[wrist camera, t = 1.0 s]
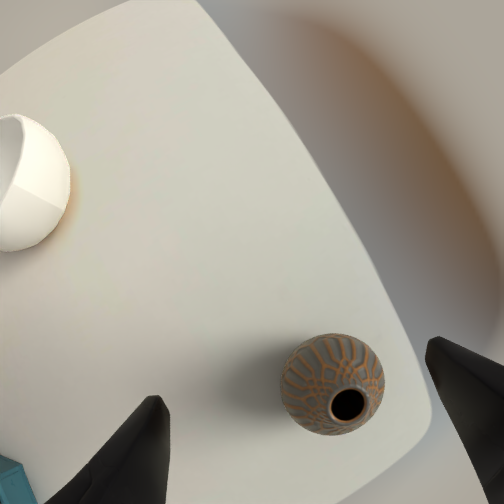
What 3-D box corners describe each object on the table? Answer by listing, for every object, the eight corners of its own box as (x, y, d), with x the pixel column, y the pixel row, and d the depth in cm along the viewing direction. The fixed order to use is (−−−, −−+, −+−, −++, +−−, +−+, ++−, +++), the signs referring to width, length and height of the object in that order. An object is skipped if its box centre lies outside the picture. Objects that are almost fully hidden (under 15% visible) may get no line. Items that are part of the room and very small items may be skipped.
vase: (278, 333, 23) (278, 346, 15) (365, 326, 23) (409, 333, 14) (281, 417, 22) (282, 467, 14) (366, 408, 22) (405, 450, 13)
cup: (40, 144, 29) (-9, 105, 20) (110, 162, 28) (55, 111, 18) (-1, 238, 28) (-60, 218, 18) (60, 279, 26) (-13, 264, 16)
